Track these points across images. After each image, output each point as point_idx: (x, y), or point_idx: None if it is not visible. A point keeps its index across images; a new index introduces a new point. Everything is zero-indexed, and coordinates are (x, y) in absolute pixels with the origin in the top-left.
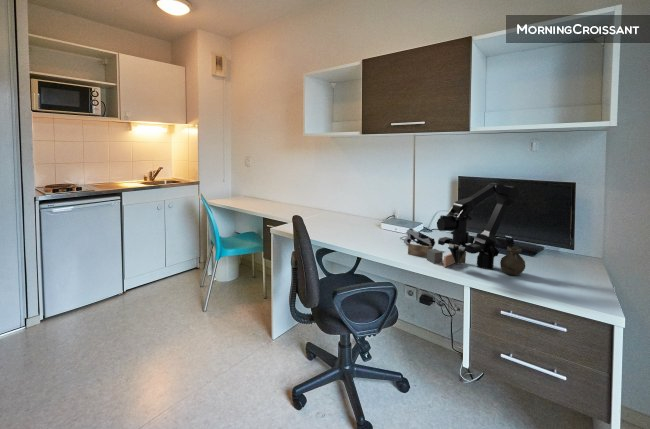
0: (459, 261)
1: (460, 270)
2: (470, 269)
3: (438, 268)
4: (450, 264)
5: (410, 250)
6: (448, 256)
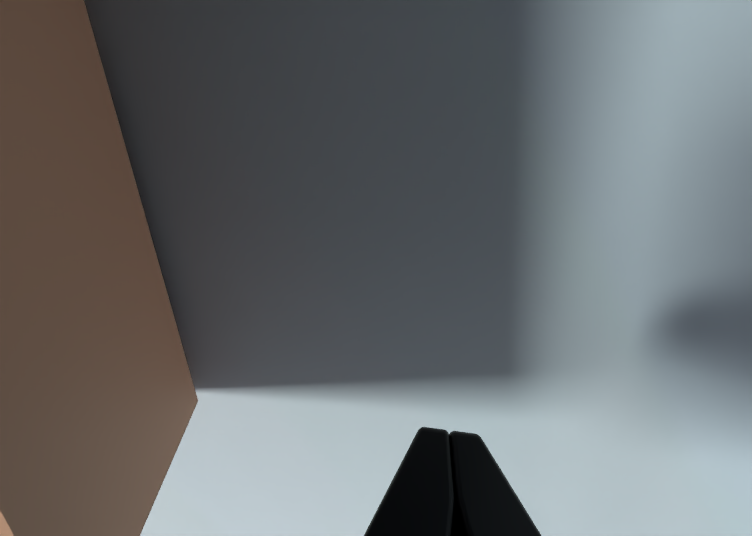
0: (504, 478)
1: (537, 314)
2: (738, 27)
3: (161, 502)
4: (130, 172)
5: None
6: (42, 528)
